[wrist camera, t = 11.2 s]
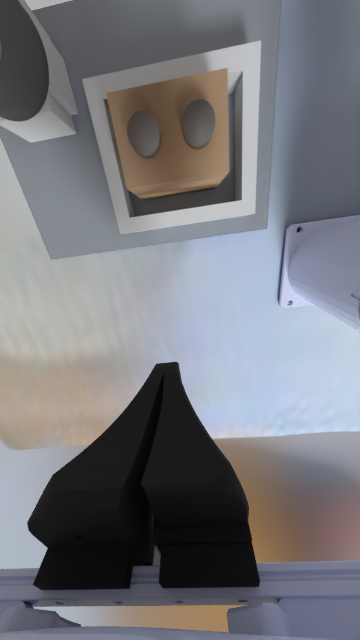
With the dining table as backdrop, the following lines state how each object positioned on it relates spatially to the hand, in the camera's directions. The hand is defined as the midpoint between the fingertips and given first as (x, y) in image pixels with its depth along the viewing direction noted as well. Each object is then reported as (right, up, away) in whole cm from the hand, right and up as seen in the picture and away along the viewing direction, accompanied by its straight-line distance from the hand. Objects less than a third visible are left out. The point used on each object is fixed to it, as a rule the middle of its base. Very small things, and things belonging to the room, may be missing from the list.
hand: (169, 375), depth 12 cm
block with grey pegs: (0, +16, +3) cm, 16 cm away
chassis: (-3, +17, +3) cm, 17 cm away
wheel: (-9, +19, +1) cm, 21 cm away
